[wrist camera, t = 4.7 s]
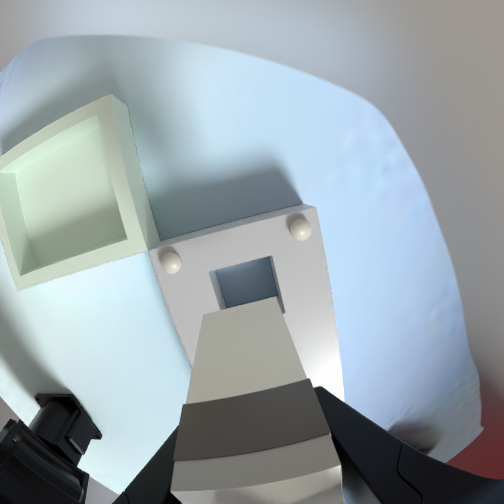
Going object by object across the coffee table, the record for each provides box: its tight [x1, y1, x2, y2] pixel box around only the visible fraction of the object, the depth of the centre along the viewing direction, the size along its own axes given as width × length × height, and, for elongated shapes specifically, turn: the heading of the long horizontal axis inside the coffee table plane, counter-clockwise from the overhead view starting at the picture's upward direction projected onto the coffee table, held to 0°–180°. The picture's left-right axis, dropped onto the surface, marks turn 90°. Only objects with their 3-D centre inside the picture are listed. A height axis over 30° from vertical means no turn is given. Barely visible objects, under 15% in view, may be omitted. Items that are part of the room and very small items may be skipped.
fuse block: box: [148, 204, 344, 402], centre depth 19 cm, size 10×16×3 cm, turn 14°
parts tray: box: [0, 93, 160, 291], centre depth 16 cm, size 12×10×3 cm
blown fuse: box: [170, 296, 343, 504], centre depth 8 cm, size 3×3×8 cm
